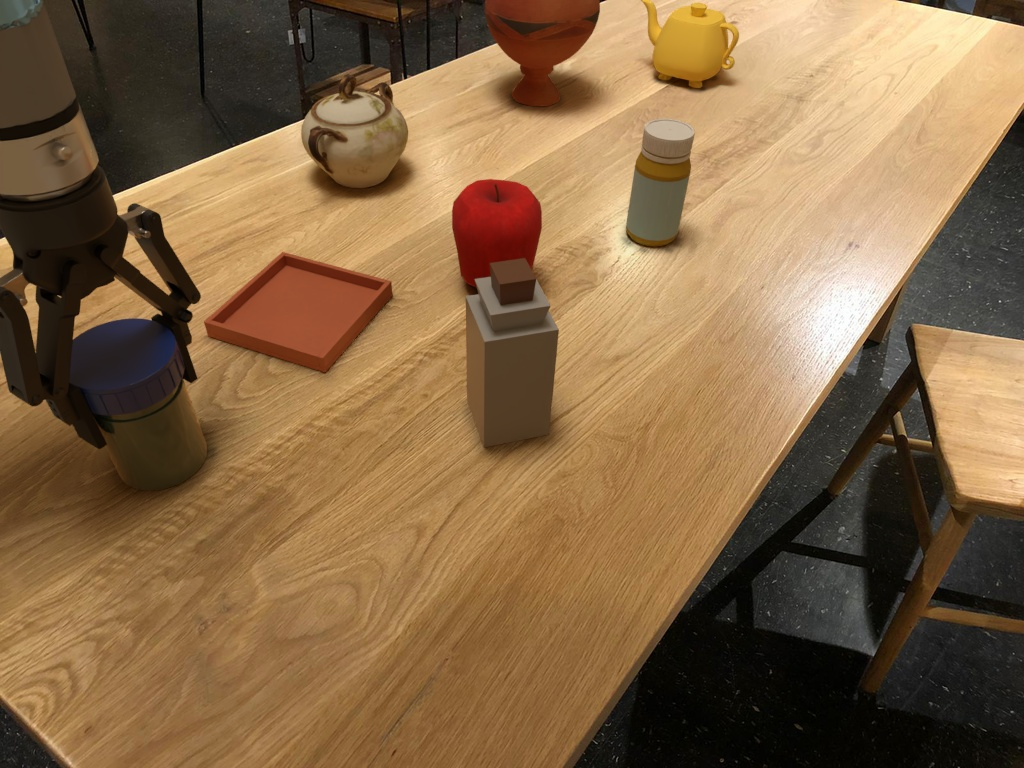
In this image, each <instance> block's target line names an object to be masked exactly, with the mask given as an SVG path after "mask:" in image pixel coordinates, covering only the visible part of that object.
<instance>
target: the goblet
mask: <svg viewBox="0 0 1024 768" xmlns="http://www.w3.org/2000/svg"><path fill="white" fill-rule="evenodd" d="M484 14H485V19H486V20H485V21H486V24H487V27H488V30H489V33H490V35H491V37H492V39H493V40H494V41H495V43H496V45H498V47H499V48H500V49H501V51H502V52H503V53H504V54H505V55H506V56H507V57H508V58H510V59H511V60H512V61H513V62H515V63H516V64H518V65H519V71H520V73H521V74H522V75H523V76H522V78H521V79H520V80H519V82H518V81H517V84H515V87H514V88H513V90H512V91H511V97H512V99H513V100H514V101H515V102H517V103H519V104H520V105H524V106H528V107H529V106H530V107H538V108H539V107H540V108H541V107H549V106H552V105H554V104H558V102H559V101H560V98H561V94H560V91H559V89H558V87H557V86H556V85H555V82H553V80H552V78H551V76H550V75H551V74H552V73H553V72H554V70H555V68H554V67H555V66H558V65H559V64H562V63H563V62H565V61H567V60H569V59H570V58H572V57H573V56H574V55H575V54H577V53H578V52H579V51H580V50H581V49H582V48H583V46H584V45H585V44H586V43H587V42H588V40H589V39H590V38H591V36H592V35H593V33H594V31H595V29H596V27H597V24H598V21H599V17H600V14H601V0H484Z"/></svg>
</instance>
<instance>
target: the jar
mask: <svg viewBox="0 0 1024 768" xmlns="http://www.w3.org/2000/svg"><path fill="white" fill-rule="evenodd" d="M191 399H192V398H191V397H190V394H189V391H188V389H187V386H186V383H185V380H184V379H183V378H182V379H181V381H180V383H179V385H178V386H177V387H176V388H175V390H174V391H173V392H172V393H171V394H169V395H168V396H167V397H166V398H164V399H163V400H161V401H160V402H158V403H156V404H154V405H152V406H150V407H148V408H145V409H143V410H140V411H136V412H133V413H128V414H122V415H99V414H94V413H92V414H93V416H94V418H95V420H96V423H97V425H98V427H99V429H100V431H101V433H102V435H103V437H104V439H105V441H106V443H107V445H105V446H104V448H105V449H106V451H107V454H108V456H109V458H110V460H111V462H112V464H113V466H114V467H115V470H116V472H117V474H118V476H119V478H120V479H121V481H123V483H125V484H126V485H127V486H129V487H130V488H133V489H135V490H140V491H145V492H146V491H148V492H151V491H162V490H166V489H170V488H172V487H175V486H178V485H181V484H182V483H184V482H186V481H187V480H188V479H190V478H191V477H192V476H194V475H195V474H196V473H197V472H198V471H199V470H200V469H201V467H202V466H203V465H204V463H205V461H206V459H207V455H208V444H207V441H206V438H205V435H204V433H203V430H202V427H201V425H200V422H199V419H198V417H197V414H196V411H195V408H194V405H193V401H192V400H191Z"/></svg>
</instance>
